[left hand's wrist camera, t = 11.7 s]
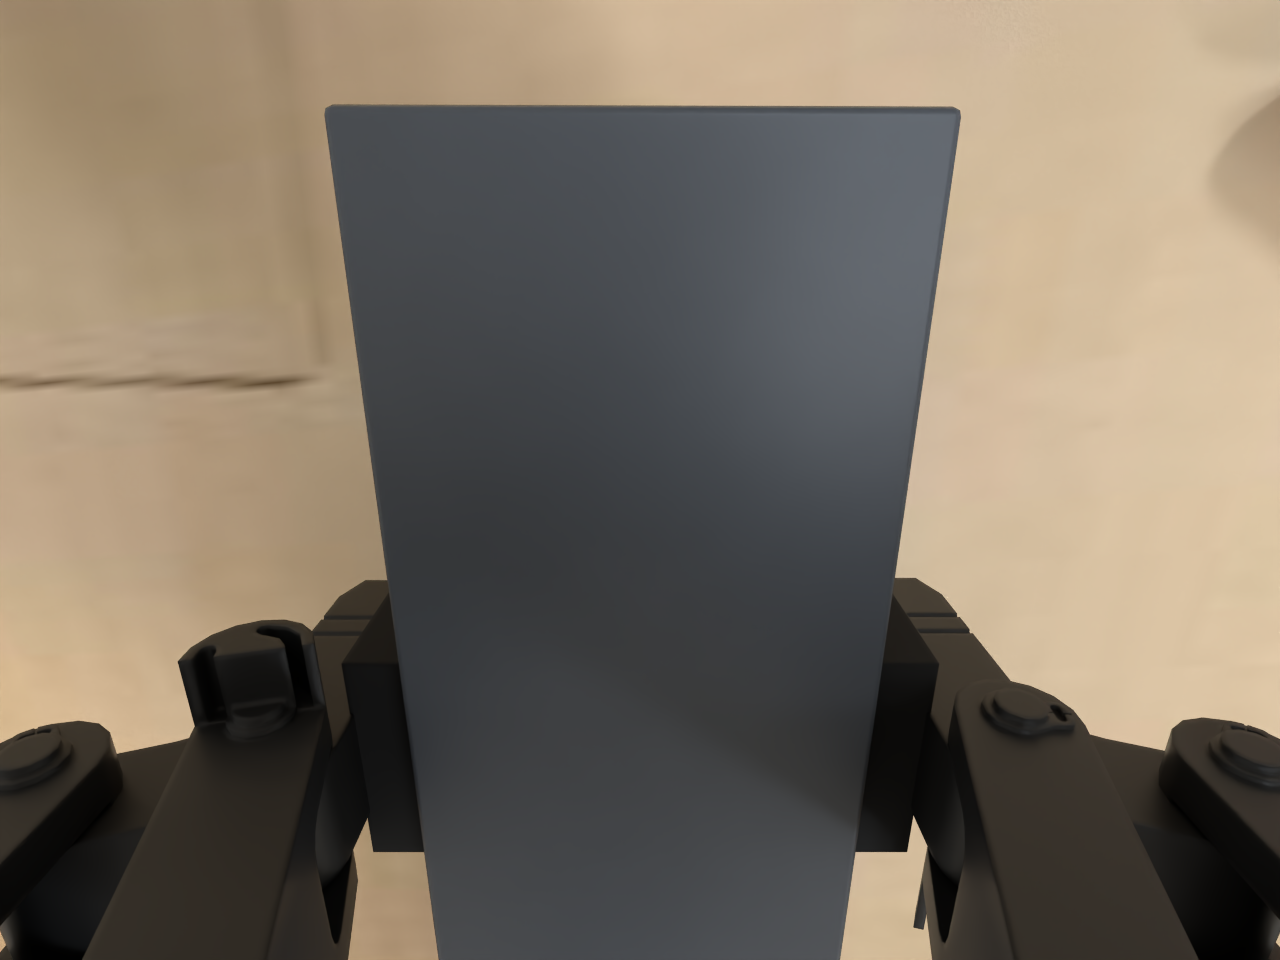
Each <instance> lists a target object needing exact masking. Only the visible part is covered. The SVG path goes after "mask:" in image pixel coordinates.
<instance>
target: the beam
mask: <svg viewBox="0 0 1280 960" xmlns="http://www.w3.org/2000/svg"><path fill="white" fill-rule="evenodd" d="M960 119H961V115H960V110H958V109H956V108H954V107H890V106H600V105H331V106H329V107H327V108H326V109H325V122H326V129H327V137H328V144H329V151H330V159H331V166H332V174H333V181H334V188H335V196H336V203H337V211H338V218H339V225H340V233H341V240H342V248H343V255H344V262H345V270H346V277H347V284H348V292H349V299H350V307H351V314H352V321H353V329H354V336H355V344H356V351H357V358H358V366H359V373H360V381H361V388H362V395H363V403H364V410H365V418H366V425H367V432H368V440H369V447H370V455H371V462H372V469H373V477H374V484H375V492H376V499H377V506H378V514H379V521H380V529H381V536H382V543H383V551H384V558H385V565H386V573H387V580H388V588H389V595H390V602H391V610H392V617H393V625H394V632H395V639H396V647H397V654H398V662H399V669H400V676H401V684H402V691H403V699H404V706H405V713H406V721H407V728H408V736H409V743H410V750H411V758H412V765H413V773H414V780H415V787H416V795H417V802H418V810H419V817H420V824H421V832H422V839H423V847H424V854H425V861H426V869H427V876H428V883H429V891H430V898H431V906H432V913H433V920H434V928H435V935H436V943H437V950H438V957H439V960H840V956H841V949H842V942H843V935H844V928H845V921H846V914H847V907H848V900H849V893H850V886H851V879H852V872H853V865H854V858H855V851H856V844H857V837H858V830H859V823H860V816H861V809H862V802H863V795H864V788H865V781H866V774H867V767H868V760H869V753H870V746H871V740H872V733H873V726H874V719H875V712H876V705H877V698H878V691H879V684H880V677H881V670H882V663H883V656H884V649H885V642H886V635H887V628H888V621H889V614H890V607H891V600H892V593H893V586H894V579H895V572H896V565H897V558H898V551H899V544H900V537H901V531H902V524H903V517H904V510H905V503H906V496H907V489H908V482H909V475H910V468H911V461H912V454H913V447H914V440H915V433H916V426H917V419H918V412H919V405H920V398H921V391H922V384H923V377H924V370H925V363H926V356H927V349H928V342H929V335H930V328H931V321H932V315H933V308H934V301H935V294H936V287H937V280H938V273H939V266H940V259H941V252H942V245H943V238H944V231H945V224H946V217H947V210H948V203H949V196H950V189H951V182H952V175H953V168H954V161H955V154H956V147H957V140H958V133H959V126H960Z"/></svg>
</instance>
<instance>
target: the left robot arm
mask: <svg viewBox="0 0 1280 960" xmlns="http://www.w3.org/2000/svg"><path fill="white" fill-rule="evenodd" d="M178 664H179V668H180V672H181V676H182V680H183V683H184V687H185V691H186V695H187V698H188V702H189V706H190V710H191V714H192V717H193V721H194V725H195V727H194V729H193V731H192V733H191V735H190V737H189V738H188V739H184V740H181V741H177V742H173V743H168V744H163V745H158V746H153V747H148V748H143V749H139V750H134V751H129V752H124V753H119V754H117V753H116V750H115V747H114V744H113V741H112V738H111V734H110V732H109V731H108V730H106V729H105V728H104V727H103V726H101V725H100V724H98V723H91V722H84V721H74V722H65V723H57V724H50V725H46V726H41V727H38V729H31V730H28V731H25V732H22V733H20V734H17V735H16V736H14V737H13V738H11V739H8V740H6V741H4V742H2V743H0V932H1V934H2V936H3V939H4V941H5V943H6V946H5V947H4V948H3V950H2V951H1V952H0V960H348V955H349V947H350V939H351V931H352V923H353V915H354V908H355V900H356V892H357V884H358V878H357V870H356V863H355V858H354V852H353V849H354V847H355V844H356V842H357V840H358V838H359V835H360V833H361V831H362V829H363V827H364V824H365V822H366V820H367V818H368V823H369V829H370V834H371V840H372V846H373V852H424V847H423V839H422V832H421V824H420V817H419V810H418V802H417V795H416V787H415V780H414V773H413V765H412V758H411V750H410V743H409V736H408V728H407V721H406V713H405V706H404V699H403V691H402V684H401V676H400V669H399V662H398V654H397V647H396V639H395V632H394V625H393V617H392V610H391V602H390V595H389V588H388V580H365V581H364V582H362V583H360V584H359V585H357V586H356V587H354V588H352V589H351V590H349V591H348V592H346V593H345V594H343V595H341V596H340V597H339V598H338V599H337V600H336V602H335V603H334V604H333V605H332V607H331V608H330V609H329V610H328V612H327V613H326V614H325V616H324V620H321V621H320V622H319V623H318V624H317V626H316V627H315V628H314V629H313V631H311V630H310V629H309V628H307V627H306V626H305V625H303V624H302V623H297V622H293V621H288V620H261V621H256V622H252V623H247V624H242V625H237V626H234V627H231V628H229V629H226V630H224V631H221V632H218V633H216V634H213V635H211V636H209V637H207V638H206V639H204V640H203V641H201V642H199V643H198V644H196V645H194V646H193V647H191V648H190V649H189V650H188V651H187V652H186V653H185V654H184V655H183V656H182V658H181V659H180V660H179V661H178ZM913 815H914V817H915V820H916V822H917V824H918V826H919V828H920V831H921V833H922V835H923V837H924V839H925V842H926V844H927V846H928V847H927V852H926V858H925V863H924V869H923V874H922V879H921V885H920V890H919V896H918V901H917V907H916V912H915V920H914V928H918V929H924V924H925V919H926V914H927V922H928V930H929V938H930V946H931V953H932V960H1280V947H1279V946H1278V945H1277V943H1276V940H1277V938H1278V936H1279V934H1280V739H1279V738H1276V737H1274V736H1272V735H1270V734H1268V733H1267V732H1265V731H1263V730H1261V729H1258V728H1255V727H1252V726H1249V725H1248V726H1245V725H1244V724H1242V723H1237V722H1233V721H1226V720H1218V719H1210V718H1197V719H1190V720H1183V721H1181V722H1180V723H1179V724H1178V725H1176V726H1175V727H1174V728H1173V729H1172V730H1171V733H1170V737H1169V740H1168V743H1167V746H1166V749H1165V751H1163V750H1158V749H1153V748H1148V747H1143V746H1138V745H1133V744H1128V743H1124V742H1119V741H1114V740H1109V739H1105V738H1101V737H1097V736H1093V735H1090V734H1089V732H1088V730H1087V728H1086V726H1085V724H1084V723H1083V722H1082V721H1081V719H1080V718H1079V717H1078V716H1077V714H1076V713H1075V712H1074V710H1072V709H1071V708H1070V707H1068V706H1067V705H1065V704H1064V703H1063V702H1061V701H1060V700H1058V699H1057V698H1055V697H1054V696H1052V695H1050V694H1047V693H1045V692H1043V691H1041V690H1038V689H1036V688H1034V687H1032V686H1028V685H1024V684H1020V683H1016V682H1012V681H1010V680H1009V678H1008V677H1007V676H1006V675H1005V673H1004V672H1003V671H1002V670H1001V668H1000V667H999V666H998V665H997V663H996V662H995V661H994V660H993V658H992V657H991V656H990V654H989V653H988V652H987V651H986V649H985V648H984V647H983V646H982V644H981V643H980V642H979V641H978V639H977V638H976V637H975V636H974V634H973V633H970V632H969V628H968V627H967V626H966V624H965V623H964V622H963V621H962V619H961V618H960V617H957V613H956V612H955V611H954V609H953V608H952V607H951V605H950V604H949V603H948V602H947V600H946V599H945V598H944V597H943V595H942V594H940V593H939V592H937V591H935V590H934V589H932V588H931V587H929V586H927V585H926V584H924V583H923V582H921V581H919V580H918V579H916V578H895V579H894V586H893V593H892V600H891V607H890V614H889V621H888V628H887V635H886V642H885V649H884V656H883V663H882V670H881V677H880V684H879V691H878V698H877V705H876V712H875V719H874V726H873V733H872V740H871V746H870V753H869V760H868V767H867V774H866V781H865V788H864V795H863V802H862V809H861V816H860V823H859V830H858V837H857V844H856V851H855V852H907V849H908V843H909V837H910V832H911V826H912V820H913Z"/></svg>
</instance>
